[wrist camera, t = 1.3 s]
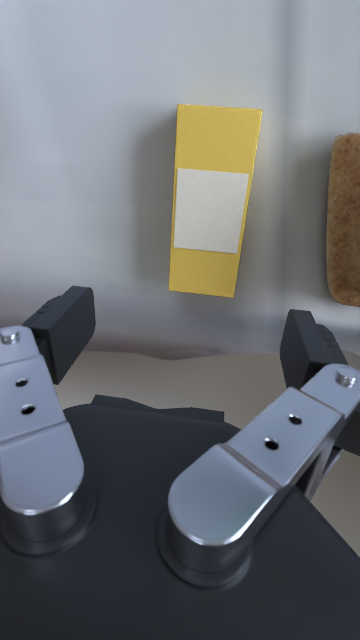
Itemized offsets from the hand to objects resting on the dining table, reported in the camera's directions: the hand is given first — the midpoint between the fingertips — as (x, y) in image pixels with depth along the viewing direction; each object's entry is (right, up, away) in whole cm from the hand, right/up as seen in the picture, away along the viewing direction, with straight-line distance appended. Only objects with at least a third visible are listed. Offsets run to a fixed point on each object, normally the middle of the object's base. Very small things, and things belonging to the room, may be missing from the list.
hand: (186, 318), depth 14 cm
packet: (+3, +10, +17) cm, 20 cm away
